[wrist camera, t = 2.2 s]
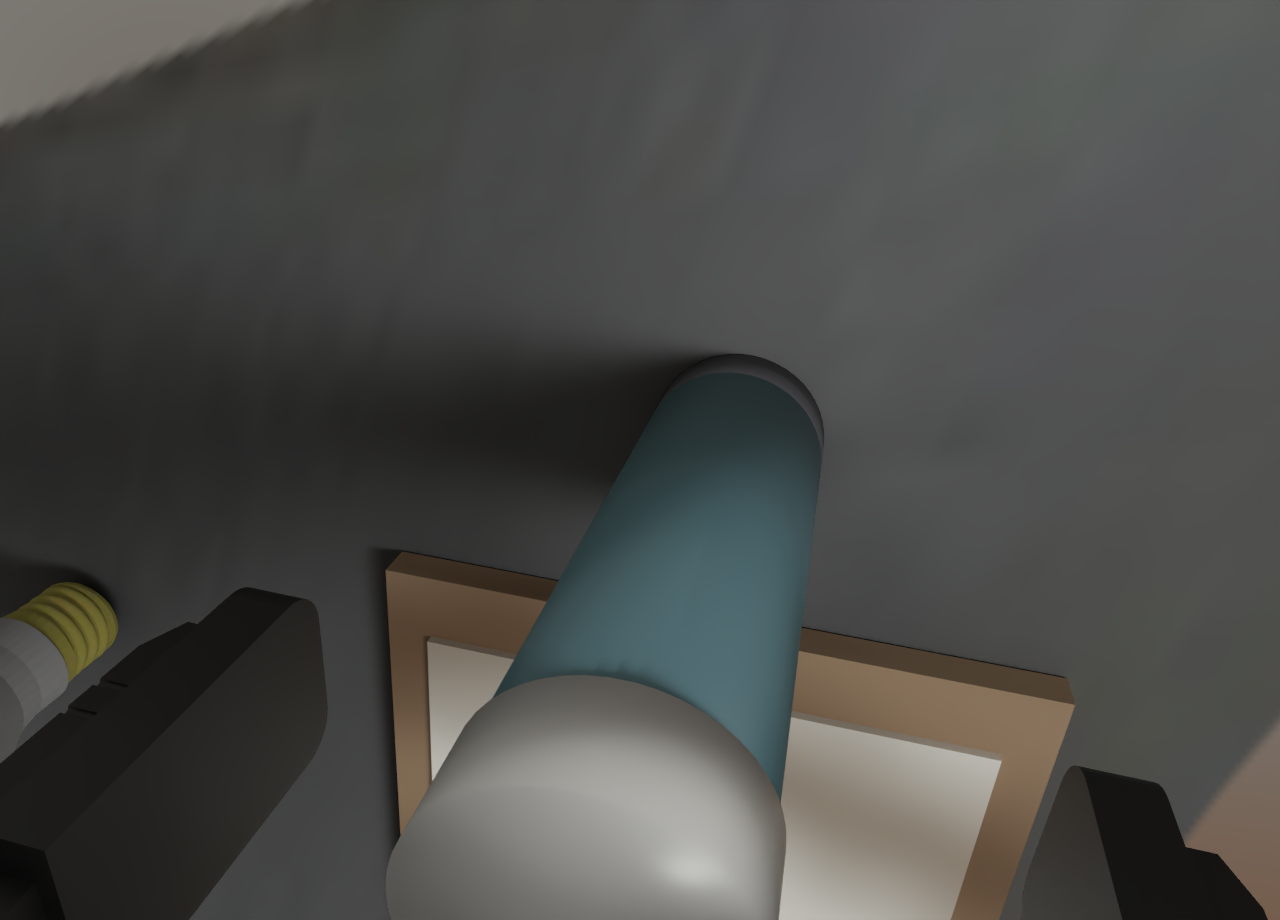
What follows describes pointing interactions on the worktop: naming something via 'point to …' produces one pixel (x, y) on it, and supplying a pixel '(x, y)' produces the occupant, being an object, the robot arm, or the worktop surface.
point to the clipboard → (816, 754)
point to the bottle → (645, 687)
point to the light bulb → (48, 652)
